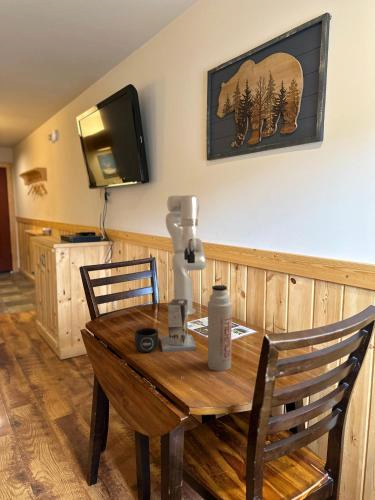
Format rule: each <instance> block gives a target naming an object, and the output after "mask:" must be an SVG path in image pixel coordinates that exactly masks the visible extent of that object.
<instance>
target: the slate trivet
mask: <svg viewBox="0 0 375 500" xmlns="http://www.w3.org/2000/svg"><path fill="white" fill-rule="evenodd" d="M159 339H160V345H161V351H162V352H163V353H167V352H183V351H195V350H196V351H197V345H196V342H195V340H194V338H193V335H192V334H188V337H187V340H186V342H185V344H184V345H183V346H182V345H169V335H162V336H160V337H159Z"/></svg>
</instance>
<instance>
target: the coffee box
mask: <svg viewBox="0 0 375 500" xmlns="http://www.w3.org/2000/svg"><path fill="white" fill-rule="evenodd" d="M167 307H168V311H167V312H168V314H167V315H168V317H167V318H168V320H167V321H168V322H167V323H168V324H167V325H168V326H167V327H168V336H169V345H182V346H183V345H184V344H185V342H186V340H187V337H188V335H189V334H188V333H189V332H188V331H189V329H188V327H189V326H188V315H187V300H186V299H172V300H171V301H170V302H169V303H168V306H167Z"/></svg>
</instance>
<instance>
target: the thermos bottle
mask: <svg viewBox="0 0 375 500" xmlns="http://www.w3.org/2000/svg"><path fill="white" fill-rule="evenodd" d="M211 289H212V293H211V295H210V296H209V301H208V302H207V367H208V369H210V370H213V371H217V372H219V371H220V372H223V371H227V370H229V369H231V366H232V302H231V299H230V295H228V287H227V286H226V285H219V284H218V285H217V284H216V285H212V287H211Z"/></svg>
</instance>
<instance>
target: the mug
mask: <svg viewBox="0 0 375 500" xmlns="http://www.w3.org/2000/svg"><path fill="white" fill-rule="evenodd" d="M158 346H159V331H158V329H156V328H153V327H141V328H138V329H136V330H134V347H135V349H136V351H139V352H142V353H150V352H152V351H155V350H156V349H157V348H158Z"/></svg>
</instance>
